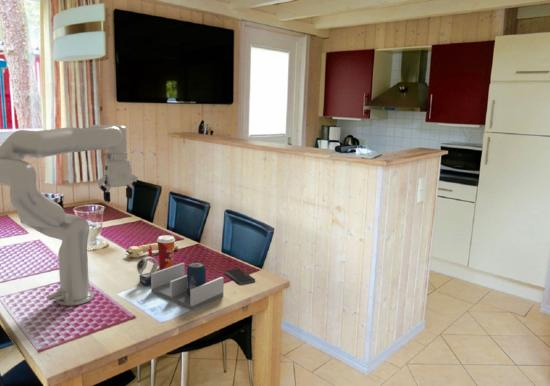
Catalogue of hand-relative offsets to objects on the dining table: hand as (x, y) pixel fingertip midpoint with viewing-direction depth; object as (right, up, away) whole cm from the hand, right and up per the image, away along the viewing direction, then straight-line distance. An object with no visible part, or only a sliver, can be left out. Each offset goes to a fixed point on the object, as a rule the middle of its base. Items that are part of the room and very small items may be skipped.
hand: (118, 199), depth 174 cm
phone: (+47, -34, +13) cm, 60 cm away
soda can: (+33, -36, -9) cm, 49 cm away
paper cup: (+14, -31, +20) cm, 39 cm away
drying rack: (+29, -36, -5) cm, 46 cm away
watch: (+11, -34, +3) cm, 36 cm away
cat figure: (+3, -27, +37) cm, 46 cm away
